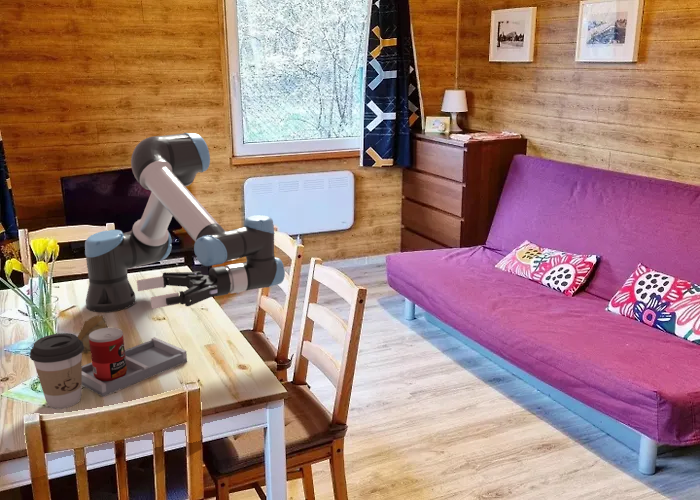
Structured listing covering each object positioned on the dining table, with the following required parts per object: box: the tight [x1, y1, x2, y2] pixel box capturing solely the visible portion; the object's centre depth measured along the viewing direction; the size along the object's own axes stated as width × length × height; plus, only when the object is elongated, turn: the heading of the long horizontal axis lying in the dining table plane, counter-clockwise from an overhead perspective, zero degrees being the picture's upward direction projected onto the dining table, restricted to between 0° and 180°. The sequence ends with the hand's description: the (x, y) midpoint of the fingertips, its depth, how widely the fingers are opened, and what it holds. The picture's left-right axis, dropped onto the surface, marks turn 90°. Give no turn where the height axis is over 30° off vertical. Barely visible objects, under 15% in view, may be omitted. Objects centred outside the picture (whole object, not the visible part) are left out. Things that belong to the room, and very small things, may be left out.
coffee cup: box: [29, 332, 84, 410], centre depth 148 cm, size 11×11×15 cm
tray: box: [82, 337, 188, 398], centre depth 165 cm, size 14×24×3 cm, turn 141°
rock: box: [76, 315, 109, 354], centre depth 177 cm, size 11×9×10 cm
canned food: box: [89, 327, 127, 381], centre depth 159 cm, size 8×8×11 cm
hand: (144, 294), depth 160 cm, fingers open, 13 cm apart
